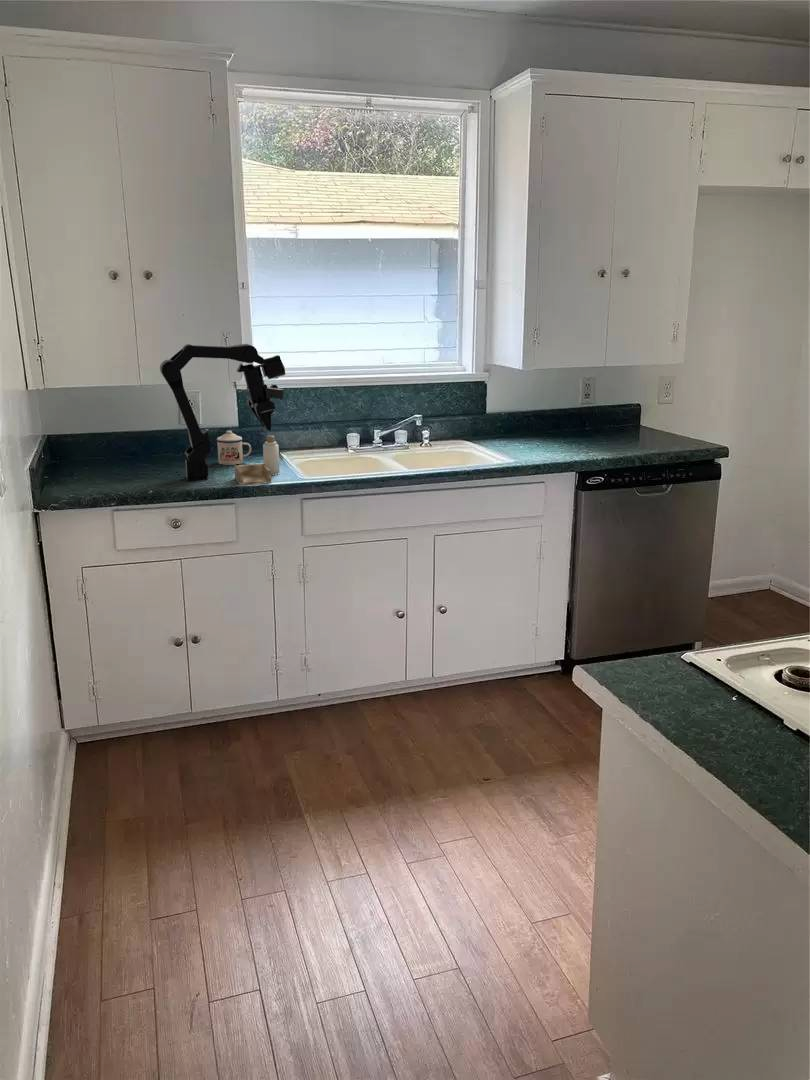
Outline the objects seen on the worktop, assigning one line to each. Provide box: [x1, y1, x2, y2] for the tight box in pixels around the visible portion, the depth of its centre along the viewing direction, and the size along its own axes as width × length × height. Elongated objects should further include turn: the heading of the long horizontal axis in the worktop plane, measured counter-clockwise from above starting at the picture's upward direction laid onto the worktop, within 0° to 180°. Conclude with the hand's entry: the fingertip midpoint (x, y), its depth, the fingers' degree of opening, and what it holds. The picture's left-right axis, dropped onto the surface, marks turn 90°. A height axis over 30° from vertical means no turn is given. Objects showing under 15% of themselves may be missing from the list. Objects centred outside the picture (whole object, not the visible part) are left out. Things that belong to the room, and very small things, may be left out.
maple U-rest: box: [234, 463, 272, 486], centre depth 273 cm, size 10×10×4 cm
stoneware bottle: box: [262, 435, 281, 476], centre depth 282 cm, size 5×5×13 cm
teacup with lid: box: [216, 430, 252, 466], centre depth 298 cm, size 12×9×12 cm
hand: (266, 428), depth 279 cm, fingers open, 9 cm apart
